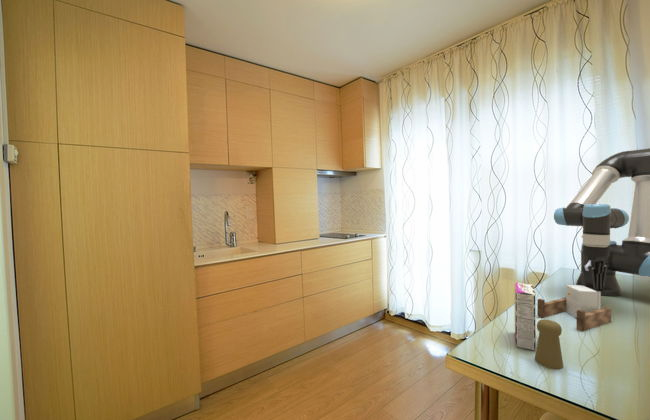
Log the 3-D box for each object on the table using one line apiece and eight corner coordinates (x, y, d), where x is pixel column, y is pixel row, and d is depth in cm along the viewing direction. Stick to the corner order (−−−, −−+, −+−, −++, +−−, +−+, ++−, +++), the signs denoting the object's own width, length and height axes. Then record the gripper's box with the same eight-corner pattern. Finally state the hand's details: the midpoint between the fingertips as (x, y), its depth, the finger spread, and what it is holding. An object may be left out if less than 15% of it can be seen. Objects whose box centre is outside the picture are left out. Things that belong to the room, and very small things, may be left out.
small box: (598, 321, 102) (598, 291, 101) (579, 320, 103) (579, 291, 103) (582, 313, 110) (583, 285, 109) (565, 312, 111) (566, 284, 110)
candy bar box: (514, 332, 95) (514, 282, 94) (533, 336, 92) (533, 284, 92) (514, 347, 85) (515, 291, 85) (536, 351, 83) (536, 294, 82)
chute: (566, 308, 114) (566, 292, 114) (611, 321, 102) (611, 303, 102) (537, 316, 107) (537, 299, 107) (582, 331, 94) (582, 311, 94)
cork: (529, 357, 80) (529, 317, 79) (549, 355, 80) (550, 316, 80) (547, 370, 74) (548, 326, 73) (569, 368, 74) (570, 325, 74)
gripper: (592, 242, 115) (591, 302, 116) (573, 245, 110) (573, 307, 111) (618, 245, 108) (616, 308, 109) (599, 248, 103) (597, 314, 104)
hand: (594, 308), depth 110 cm, fingers closed
